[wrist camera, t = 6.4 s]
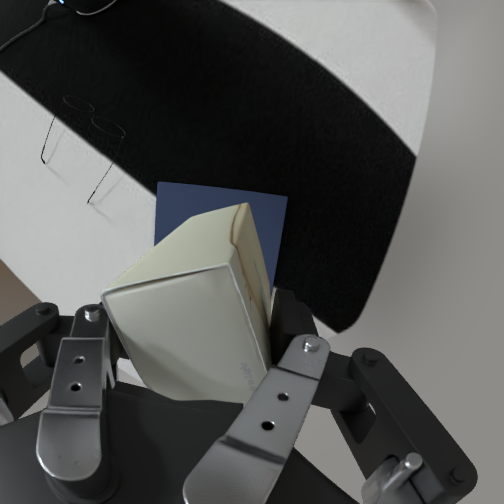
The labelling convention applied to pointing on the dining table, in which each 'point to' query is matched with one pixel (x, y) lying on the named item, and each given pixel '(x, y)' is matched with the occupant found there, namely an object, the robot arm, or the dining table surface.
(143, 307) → the cosmetic box
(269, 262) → the cloth
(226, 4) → the dining table surface
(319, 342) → the robot arm
